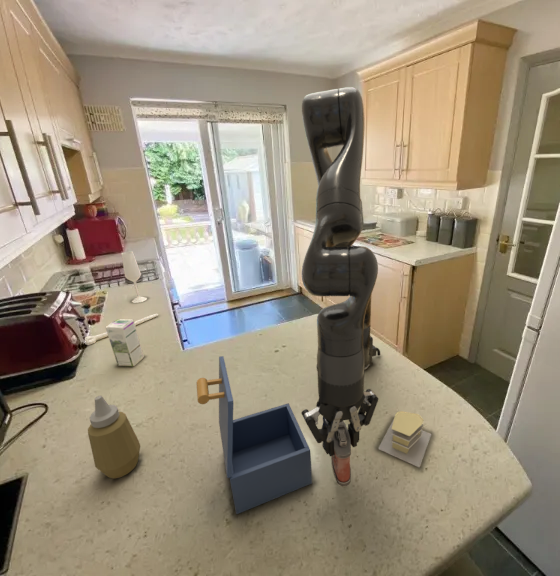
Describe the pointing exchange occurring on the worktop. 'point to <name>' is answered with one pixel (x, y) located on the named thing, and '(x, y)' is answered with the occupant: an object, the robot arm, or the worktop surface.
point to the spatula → (93, 339)
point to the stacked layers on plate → (406, 438)
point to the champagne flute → (132, 272)
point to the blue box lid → (221, 409)
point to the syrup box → (125, 342)
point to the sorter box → (268, 457)
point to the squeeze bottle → (112, 440)
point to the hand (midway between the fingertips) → (341, 447)
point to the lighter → (342, 456)
